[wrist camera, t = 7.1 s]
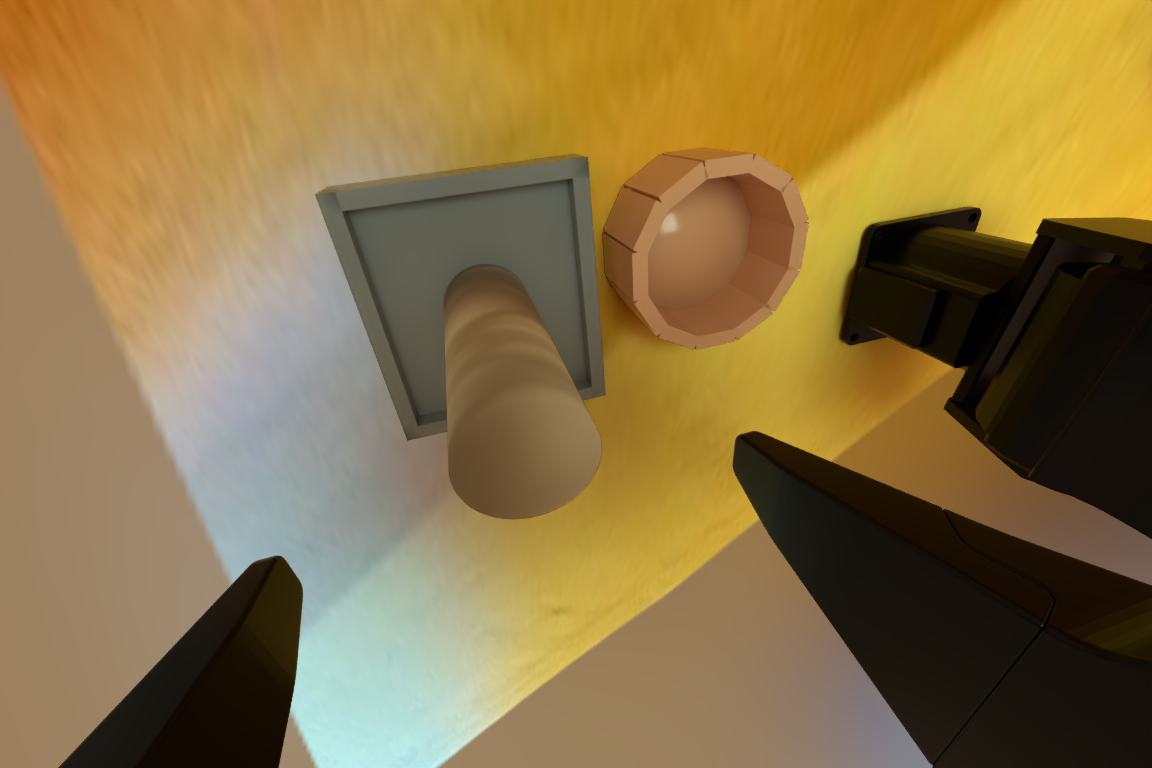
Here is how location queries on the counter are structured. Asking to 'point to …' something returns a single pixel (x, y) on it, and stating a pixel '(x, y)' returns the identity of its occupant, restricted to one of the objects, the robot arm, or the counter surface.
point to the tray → (455, 242)
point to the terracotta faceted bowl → (705, 244)
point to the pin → (510, 402)
